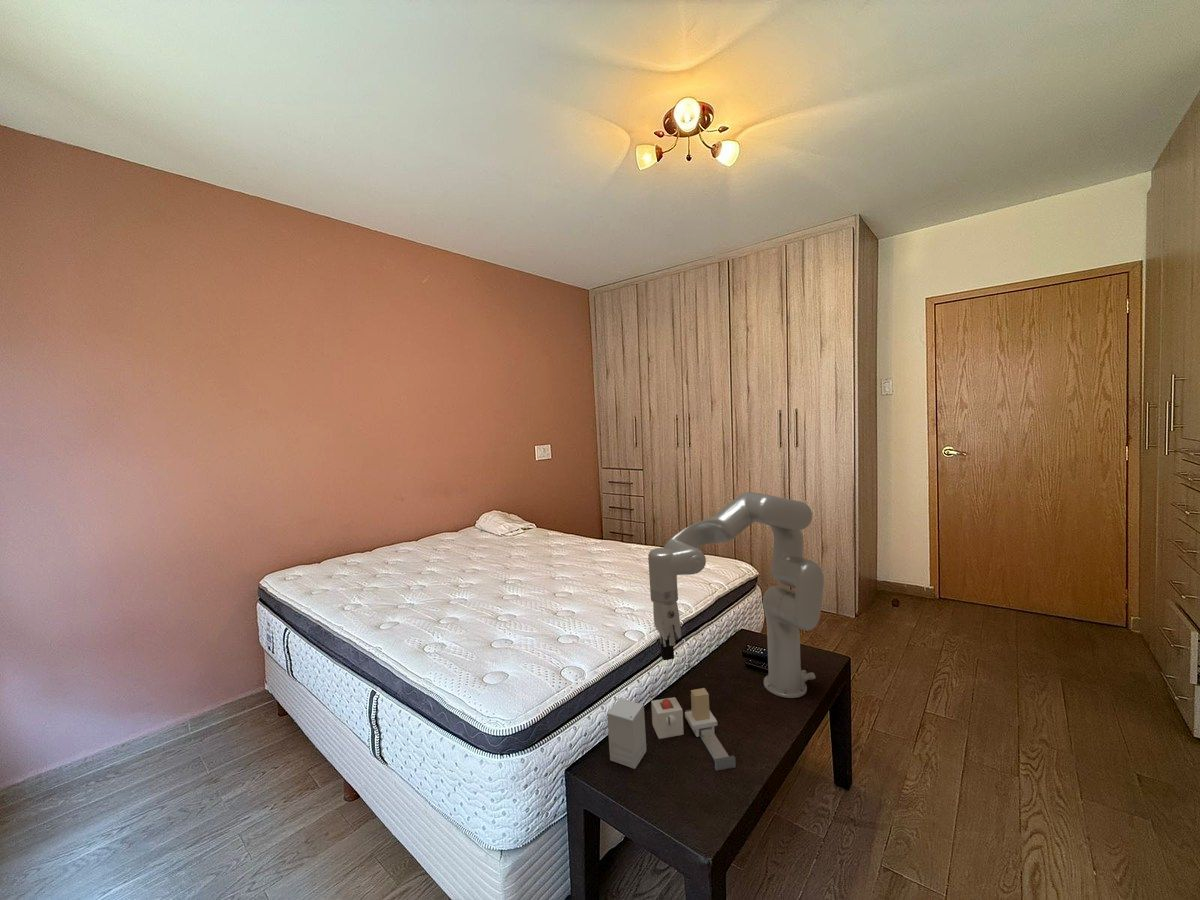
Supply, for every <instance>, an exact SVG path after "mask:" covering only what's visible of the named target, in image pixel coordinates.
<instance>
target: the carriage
mask: <svg viewBox="0 0 1200 900" xmlns="http://www.w3.org/2000/svg"><path fill="white" fill-rule="evenodd" d="M690 699H691V700H690V702H691V703H690V705H691V709H692V711H689V712H684V717H685V720H686V719H687V720H686V721H687V722H688V725H689V726H690V728H691V730H692V732H693V734H694V735H695V737H696V738H697V737H700V735H699V729H701V728H707V727H710V728H711V729H712V731H713V732H714V734H715V727H716V726H718V720H717V718H716V717H715V716H714V715H713V713H712V711H711V710H710V693H708V691H707V689H706V688H705V687H702V688H696V689H691V690H690ZM715 735H716V734H715Z"/></svg>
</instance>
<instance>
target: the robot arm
mask: <svg viewBox="0 0 1200 900" xmlns="http://www.w3.org/2000/svg"><path fill="white" fill-rule="evenodd" d="M812 521H813V511H812V509H811V508H810V506H809V505H808V504H807V503H806V502H804V501H800V500H794V499H788V498H784V497H779V496H776V495H775V496H774V495H770V494H766V493H765V494H764V493H761V492H753V491H746V492H743V493H741V494H739V495H738V496H737V497H736V498H734V499H733V500H732V501H731V502H730V503H728V504H727V505H726V506H724V507H723V508H722V509H720V511H718V512H717V513H715V514H714V515H712V516H711V517H709V518H706V519H703V520H701V521H698V522H696V523H693V524H691V525H688V526H687V527H685V528H683V529H682V530H680V531H678V532H677V533H676V534H674V536H672V537H671V538H669V540H668V541H667V542H666V543H665V545H664V546H663V547H657V548H653V549H651V550H650V551H649V552H648V555H647V556H648V558H647V559H648V560H647V561H648V572H649V573H648V576H649V578H648V579H649V593H650V601H651V602H652V603H653V604H652V606H653V608H652V611H653V625H654V628H655V629H656V631H657V632H658V633H659V641H660V653H661V654H660V656H661V658H662V660H663V661H669V660H673V659H675V647H674V646H676V640H675V639H676V638H675V637H677V638H678V639H681V637H682V630H681V629H682V628H681V619H680V613H679V606H678V600H679V592H678V577H677V576H679V575H681V576H683V575H684V576H685V575H687V576H688V575H689V576H690V575H697V574H698V573H701V572H702V570H704V568H705V567H706V563H707V558H706V556H705V553H704V552H703V551H702V550H700V549H699V547H703V546H705V545H710V544H720V543H722V544H723V543H727V542H731V541H733V540H734V539H735V538H736V537H737V536H739V535H740V534H741V533H742V532H744V531H745V530H746V529H747V528H748V527H749V526H750V525H752V524H753V523H758V524H763V525H766V526H769V527H770V529H771V531H772V534H773V548H772V556H771V558H772V559H771V567H770V569H771V571H770V572H771V576H772V577H773V579H774V580H775V581H776V582H778V583H780V584H783V585H785V586H787V587H790V588H792V589H795V590H792V589H789V588H787V587H785V586H781V585H773V586H771V587H769V588H767V589H766V590H765V591H764V593H763V596H762V607H763V611H764V616H765V621H766V631H767V632H766V633H767V634H766V636H767V637H766V638H767V641H766V642H767V664H768V665H767V666H768V667H767V668H768V674H767V675H766V676H765V677H763V686H764V688H765V689H766V690H767V691H768V692H769V693H771V694H772V695H775V696H778V697H781V698H788V699H795V698H797V699H798V698H800V697H803V696H804V695H806V694H807V691H808V687H807V684H806V682H807V681H808V680H809V681H811V680H815V679H816V675H815V673H814V672H807V670H805V669H802V667H801V665H802V663H801V634H800V631H801V630H802V631H811V630H813V629H814V628H815V627H816V626H817V625H818V623H819V621H820V617H821V612H822V603H823V597H824V596H823V594H824V584H825V583H824V582H825V579H824V578H825V577H824V573H823V570H822V568H821V567H820V565H819V564H818V563H817V562H815V561H814V560H811V559H808V558H805V557H804V553H803V552H804V537H803V532H802V530H806V528H808V527H809V526H810V525H811V523H812Z"/></svg>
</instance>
